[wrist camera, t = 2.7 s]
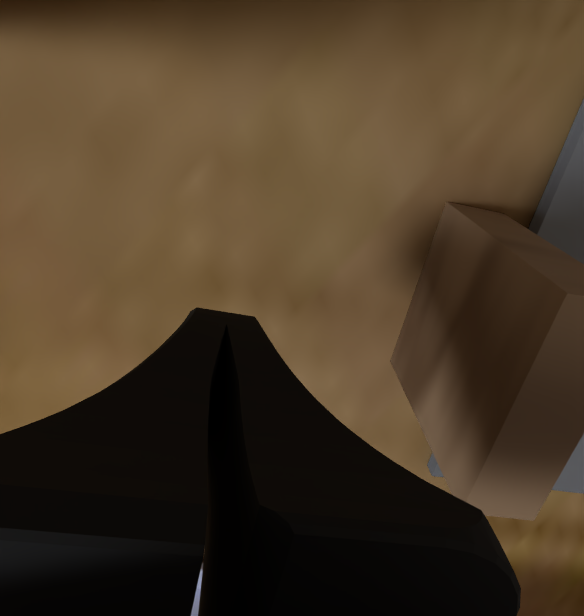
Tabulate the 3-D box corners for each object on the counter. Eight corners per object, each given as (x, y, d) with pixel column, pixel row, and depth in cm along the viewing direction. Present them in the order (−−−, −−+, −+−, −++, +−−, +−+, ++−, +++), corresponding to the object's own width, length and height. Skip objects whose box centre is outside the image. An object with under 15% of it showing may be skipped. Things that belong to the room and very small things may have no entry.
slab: (441, 368, 19) (533, 520, 13) (390, 360, 19) (460, 512, 13) (503, 213, 17) (654, 309, 11) (445, 201, 17) (567, 293, 10)
